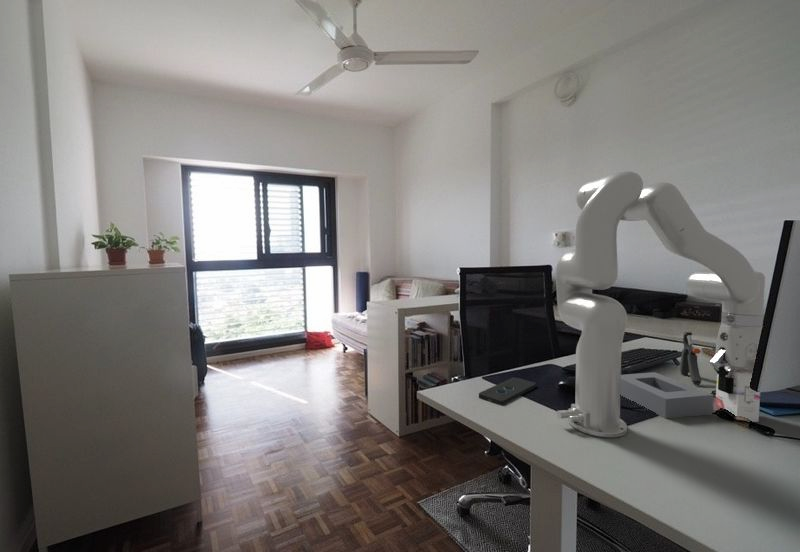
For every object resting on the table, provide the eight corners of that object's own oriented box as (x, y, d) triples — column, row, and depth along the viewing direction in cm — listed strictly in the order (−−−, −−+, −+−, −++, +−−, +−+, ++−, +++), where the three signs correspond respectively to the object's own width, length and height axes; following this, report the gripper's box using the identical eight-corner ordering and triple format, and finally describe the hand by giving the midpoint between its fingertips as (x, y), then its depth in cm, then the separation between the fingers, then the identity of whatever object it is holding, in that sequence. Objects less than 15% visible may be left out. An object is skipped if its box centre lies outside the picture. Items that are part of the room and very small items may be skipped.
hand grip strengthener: (693, 386, 114) (695, 338, 113) (679, 373, 126) (680, 329, 125) (702, 387, 113) (704, 338, 112) (687, 374, 125) (688, 330, 124)
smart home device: (477, 392, 108) (513, 376, 122) (477, 398, 108) (513, 381, 122) (502, 401, 102) (537, 382, 116) (502, 407, 102) (537, 388, 116)
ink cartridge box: (713, 406, 98) (716, 352, 97) (735, 408, 97) (738, 353, 97) (735, 421, 90) (739, 361, 89) (759, 422, 89) (763, 362, 88)
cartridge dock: (665, 418, 93) (665, 399, 92) (613, 391, 111) (613, 375, 110) (712, 413, 95) (713, 394, 95) (654, 388, 113) (654, 372, 112)
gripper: (727, 324, 87) (723, 399, 88) (787, 322, 90) (782, 394, 91) (697, 318, 95) (693, 387, 96) (753, 316, 97) (749, 383, 98)
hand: (737, 390), depth 93 cm, fingers closed on ink cartridge box, 6 cm apart
